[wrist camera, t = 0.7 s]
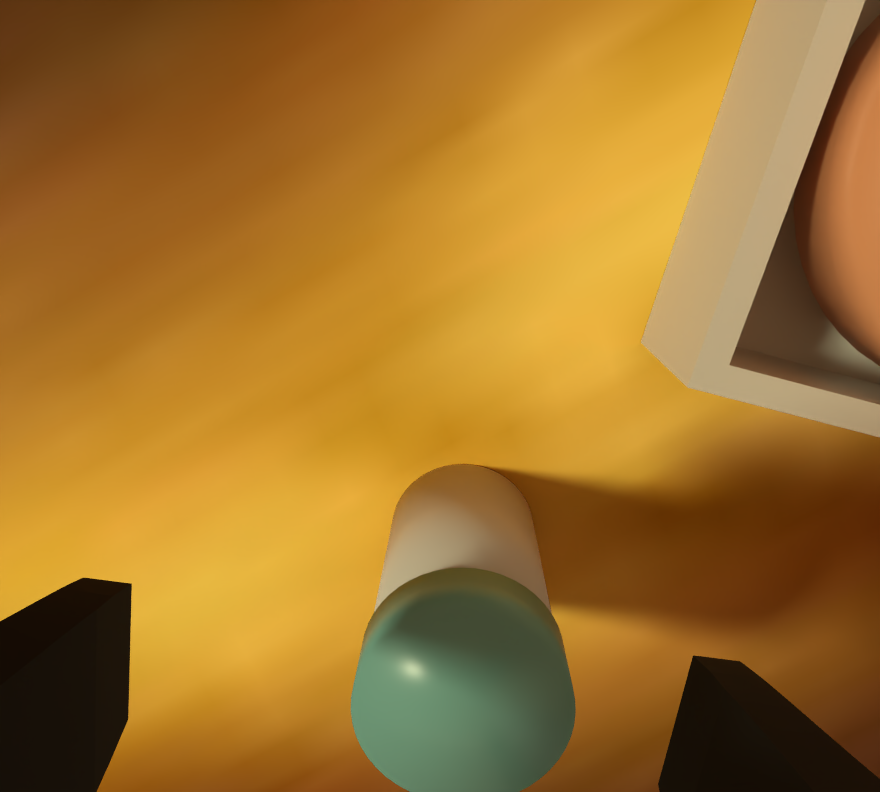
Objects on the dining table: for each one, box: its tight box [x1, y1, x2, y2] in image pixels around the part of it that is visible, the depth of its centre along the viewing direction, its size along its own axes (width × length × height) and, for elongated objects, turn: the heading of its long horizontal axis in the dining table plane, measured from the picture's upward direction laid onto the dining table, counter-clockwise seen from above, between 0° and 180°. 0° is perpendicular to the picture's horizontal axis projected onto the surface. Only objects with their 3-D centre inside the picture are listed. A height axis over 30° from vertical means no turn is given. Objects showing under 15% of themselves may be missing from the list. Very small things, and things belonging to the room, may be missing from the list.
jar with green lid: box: [351, 464, 575, 792], centre depth 17 cm, size 4×4×7 cm
